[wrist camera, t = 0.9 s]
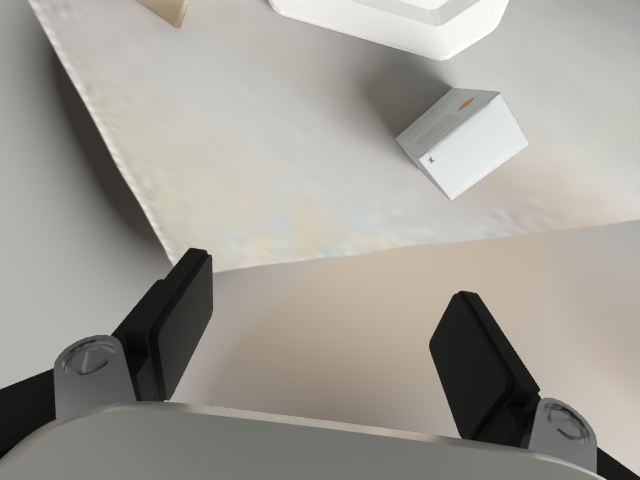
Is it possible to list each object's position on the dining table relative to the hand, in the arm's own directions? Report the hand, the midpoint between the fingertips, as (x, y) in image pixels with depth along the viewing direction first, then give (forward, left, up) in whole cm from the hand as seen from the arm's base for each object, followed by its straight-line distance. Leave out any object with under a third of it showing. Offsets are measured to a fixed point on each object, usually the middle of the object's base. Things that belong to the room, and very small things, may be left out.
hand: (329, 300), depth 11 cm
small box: (-8, +9, -28) cm, 31 cm away
